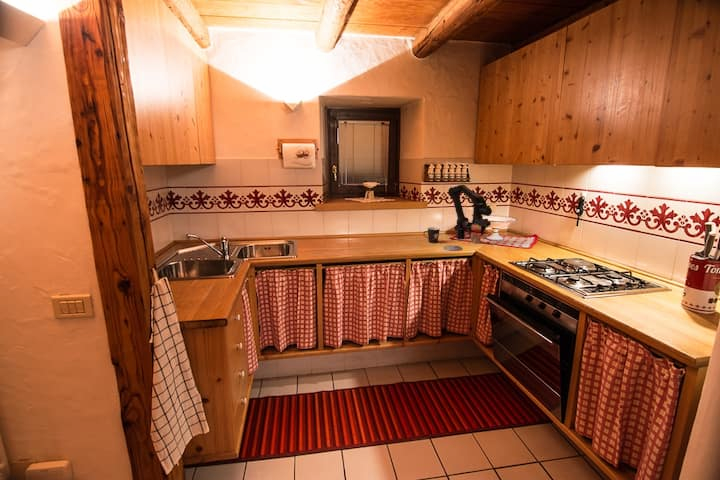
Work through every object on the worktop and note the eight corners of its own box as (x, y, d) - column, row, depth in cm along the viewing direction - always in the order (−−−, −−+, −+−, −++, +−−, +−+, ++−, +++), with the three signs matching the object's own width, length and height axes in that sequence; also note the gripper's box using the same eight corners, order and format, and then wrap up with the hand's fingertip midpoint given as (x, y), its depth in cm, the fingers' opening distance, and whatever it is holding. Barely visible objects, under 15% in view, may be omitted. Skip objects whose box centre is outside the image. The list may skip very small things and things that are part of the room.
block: (470, 241, 256) (471, 235, 254) (475, 241, 256) (476, 234, 255) (475, 243, 250) (475, 236, 249) (480, 243, 251) (480, 236, 249)
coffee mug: (438, 240, 259) (439, 227, 257) (439, 243, 251) (440, 229, 249) (422, 240, 261) (422, 227, 258) (423, 243, 252) (423, 229, 250)
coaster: (440, 246, 243) (440, 246, 243) (456, 245, 245) (456, 244, 245) (448, 251, 231) (448, 250, 231) (465, 250, 234) (465, 249, 233)
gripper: (470, 216, 239) (469, 238, 242) (496, 215, 242) (494, 237, 246) (462, 213, 249) (461, 235, 253) (487, 212, 253) (485, 233, 257)
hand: (475, 235), depth 252 cm, fingers open, 9 cm apart
